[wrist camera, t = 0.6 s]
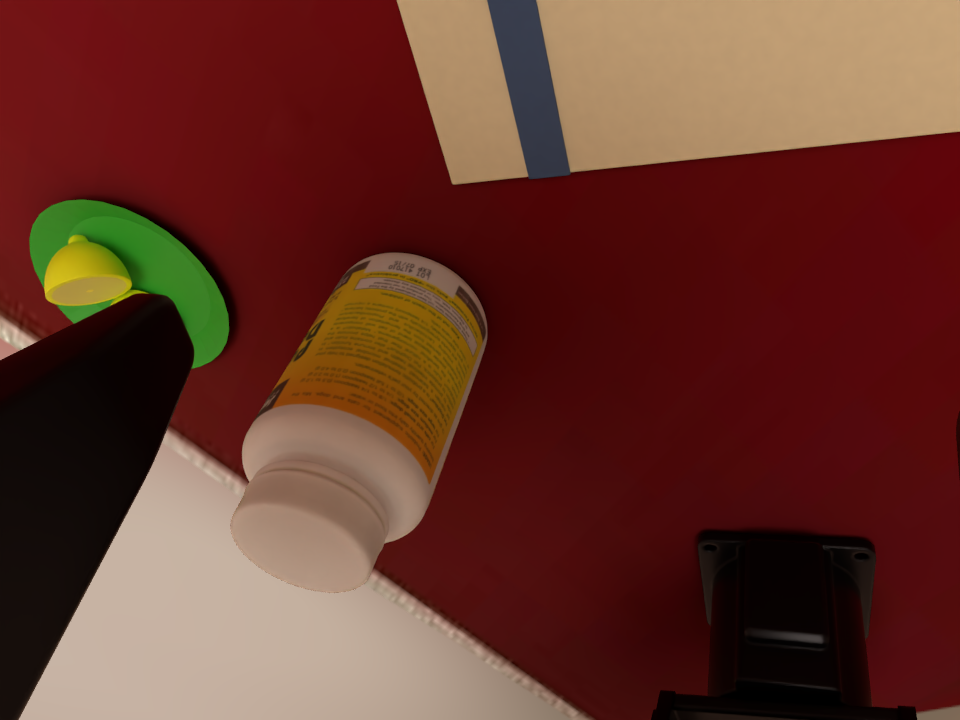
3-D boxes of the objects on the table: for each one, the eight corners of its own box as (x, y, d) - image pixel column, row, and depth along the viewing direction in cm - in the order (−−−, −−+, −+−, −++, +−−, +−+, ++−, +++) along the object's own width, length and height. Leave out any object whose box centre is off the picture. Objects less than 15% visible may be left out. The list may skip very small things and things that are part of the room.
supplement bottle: (345, 223, 27) (191, 456, 19) (506, 272, 26) (411, 527, 19) (336, 342, 31) (206, 573, 23) (477, 385, 30) (389, 632, 23)
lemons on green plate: (6, 251, 32) (-44, 295, 30) (101, 150, 27) (49, 194, 25) (167, 384, 35) (132, 431, 33) (276, 313, 30) (242, 363, 28)
